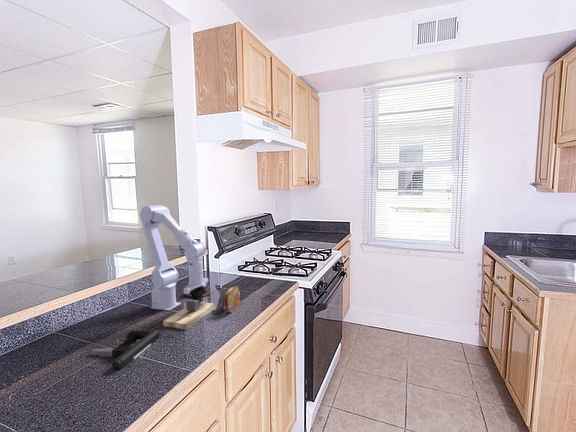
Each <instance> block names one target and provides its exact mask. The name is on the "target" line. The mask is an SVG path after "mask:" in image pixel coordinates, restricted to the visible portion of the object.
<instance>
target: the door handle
mask: <svg viewBox="0 0 576 432" xmlns="http://www.w3.org/2000/svg"><path fill="white" fill-rule="evenodd" d="M160 334H161V333H160V331H159V330H158V329H153V330H131V331H128V332H127V334H126V338H127V339H125V341H123V342H121V343H120V344H119V345H117V346H116V347H115V348H106V347H105V348H104V347H103V348H102V347H101V348H100V347H95V348H94V349H92V350H91V356H96V355H98V356H99V357H107V358H108V357H112V359H114V358H115V359H114V360H113V362H112V363H111V366H112V368H113V369H114V370H119V369H122V368H123V367H125V365H127V364H128V363H129V362H131V360H136V359H137V357H139V356H140V355H141V354H143V353H144V352H145V351H146V350H147V349H148V348H150V347H151V346H152V343H153V342H155V341H156V340H157V339H159V338H160ZM135 342H136V343H135ZM134 343H135V344H134Z"/></svg>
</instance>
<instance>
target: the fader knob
mask: <svg viewBox="0 0 576 432" xmlns="http://www.w3.org/2000/svg"><path fill="white" fill-rule="evenodd" d="M185 303H186V305H185V307H187V310H190V311H196V310H198V309H199V308H200V305H199V300H196V299H192V298H190V299H188V300H187V301H185Z"/></svg>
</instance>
